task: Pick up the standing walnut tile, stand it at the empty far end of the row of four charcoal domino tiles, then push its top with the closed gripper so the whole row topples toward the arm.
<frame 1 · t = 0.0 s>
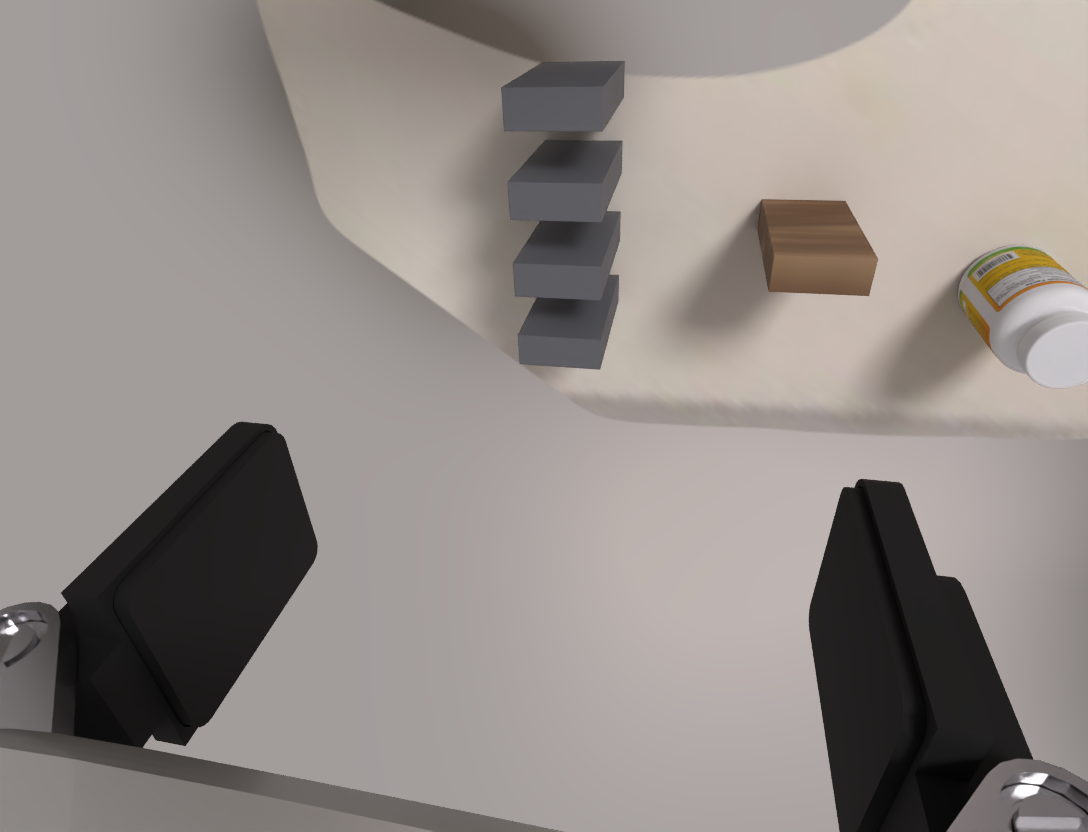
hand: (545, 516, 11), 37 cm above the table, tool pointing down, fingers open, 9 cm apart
domino 1: (583, 80, 41), on the table
domino 3: (583, 225, 46), on the table
domino 2: (583, 156, 43), on the table
domino 4: (584, 286, 48), on the table
domino 5: (800, 216, 43), on the table
supplement bottle: (1002, 282, 43), on the table
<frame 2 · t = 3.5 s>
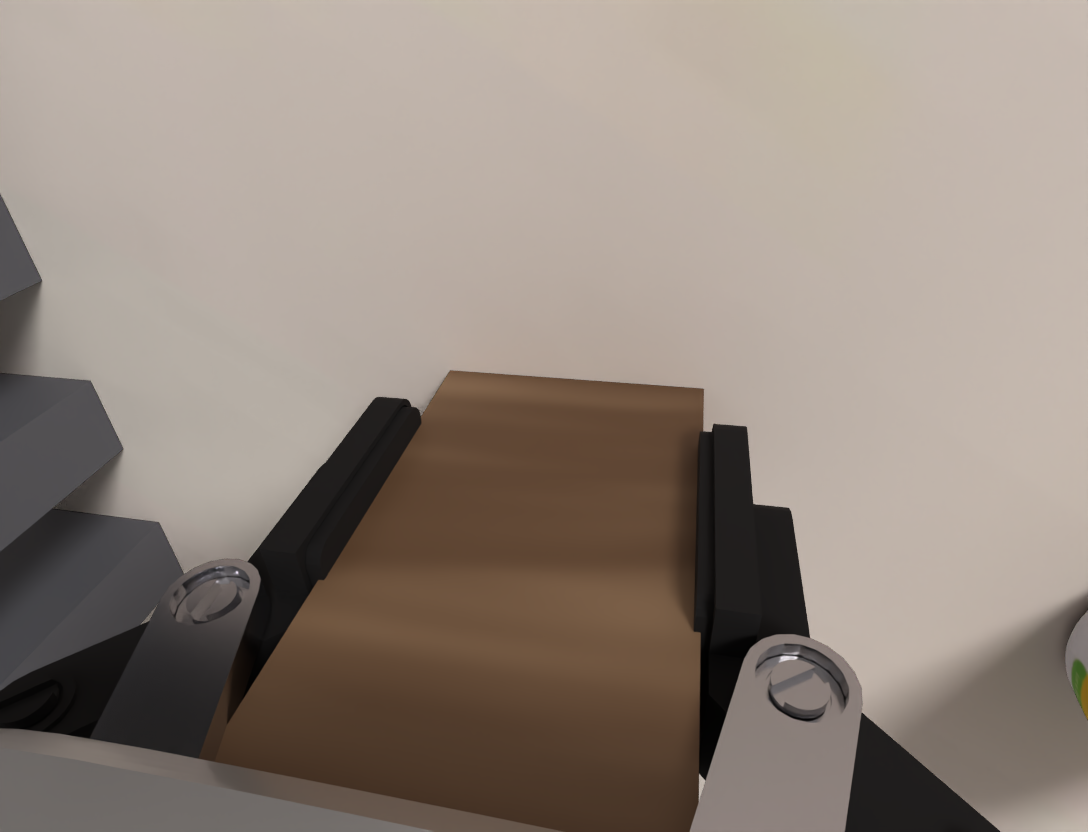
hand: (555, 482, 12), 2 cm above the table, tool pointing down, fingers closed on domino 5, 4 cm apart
domino 3: (21, 407, 17), on the table
domino 4: (95, 538, 19), on the table
domino 5: (573, 421, 14), on the table, touching gripper
when the fingers open (2 cm above the table, at t = 8.4 s): domino 5 stays where it is, on the table.
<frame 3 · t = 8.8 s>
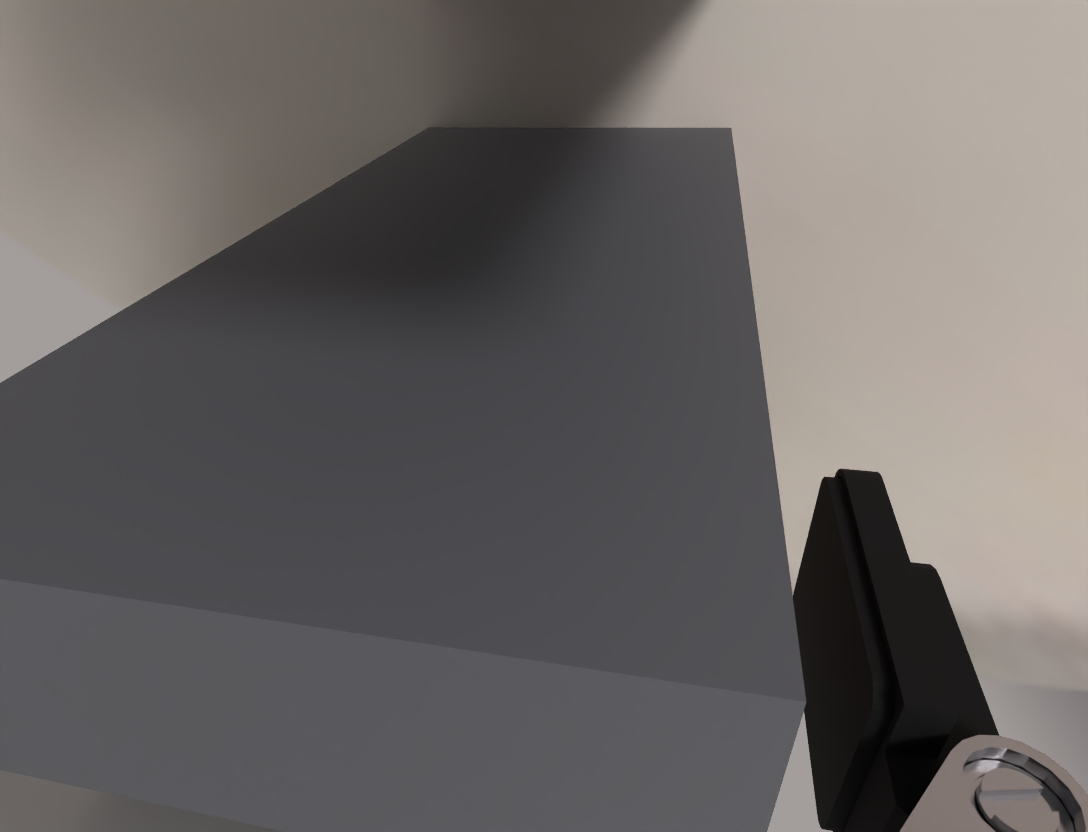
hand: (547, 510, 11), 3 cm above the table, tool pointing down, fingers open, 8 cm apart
domino 4: (574, 190, 11), on the table
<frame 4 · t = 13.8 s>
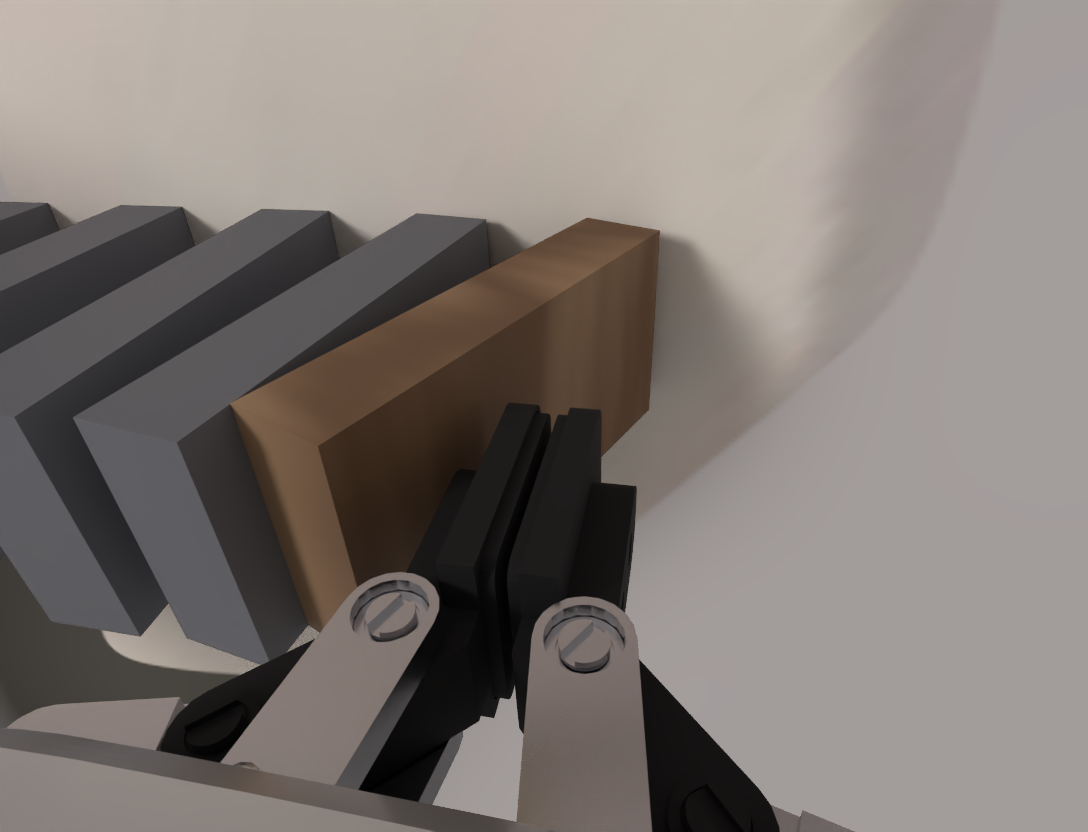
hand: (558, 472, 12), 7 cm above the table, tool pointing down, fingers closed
domino 1: (56, 281, 21), on the table
domino 3: (315, 295, 20), on the table
domino 2: (180, 288, 20), on the table
domino 4: (460, 306, 19), on the table, tilted 9°
domino 5: (619, 318, 18), on the table, tilted 23°
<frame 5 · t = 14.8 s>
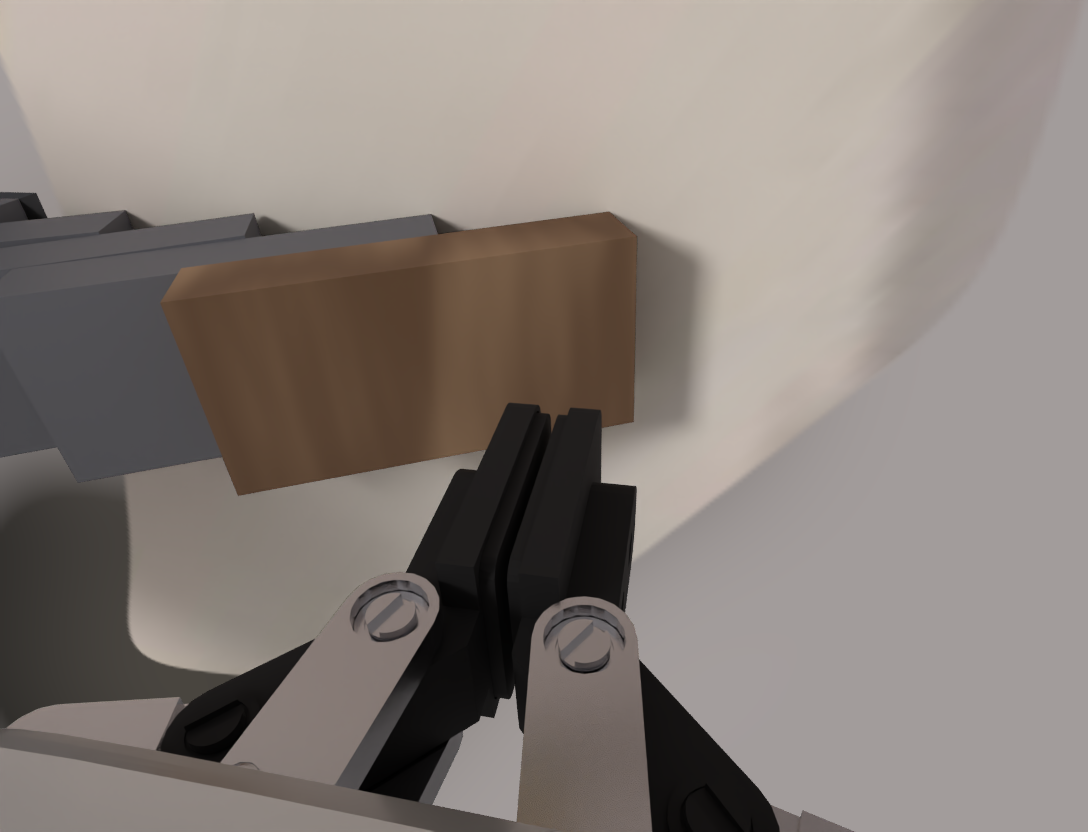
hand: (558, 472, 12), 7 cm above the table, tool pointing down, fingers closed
domino 1: (46, 282, 21), on the table, tilted 90°, touching domino 2
domino 3: (277, 310, 19), point 1 cm above the table, tilted 65°, touching domino 2, domino 4
domino 2: (147, 303, 20), point 1 cm above the table, tilted 69°, touching domino 1, domino 3
domino 4: (448, 316, 18), point 1 cm above the table, tilted 65°, touching domino 3, domino 5
domino 5: (621, 320, 17), point 1 cm above the table, tilted 65°, touching domino 4
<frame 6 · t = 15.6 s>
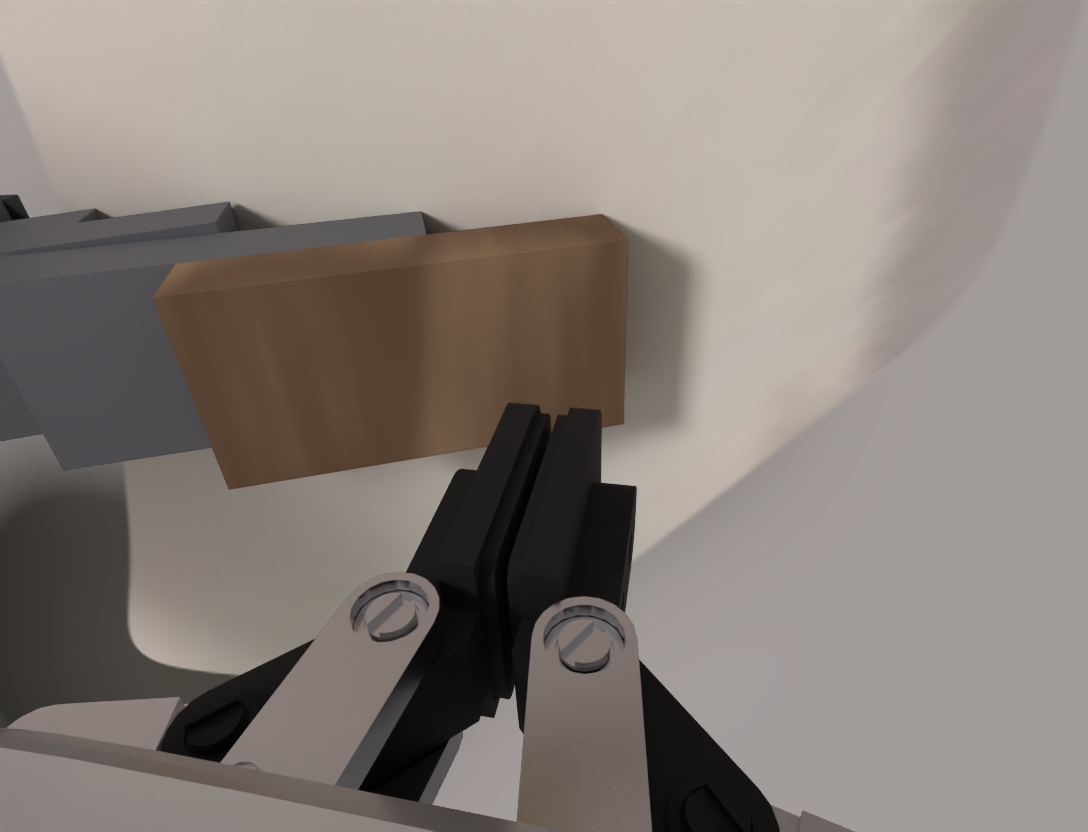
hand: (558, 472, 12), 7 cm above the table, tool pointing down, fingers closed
domino 1: (31, 283, 21), on the table, tilted 90°
domino 3: (253, 299, 19), point 1 cm above the table, tilted 66°, touching domino 2
domino 2: (122, 300, 20), point 1 cm above the table, tilted 66°, touching domino 3
domino 4: (437, 313, 18), point 1 cm above the table, tilted 66°, touching domino 5
domino 5: (613, 322, 17), point 1 cm above the table, tilted 66°, touching domino 4
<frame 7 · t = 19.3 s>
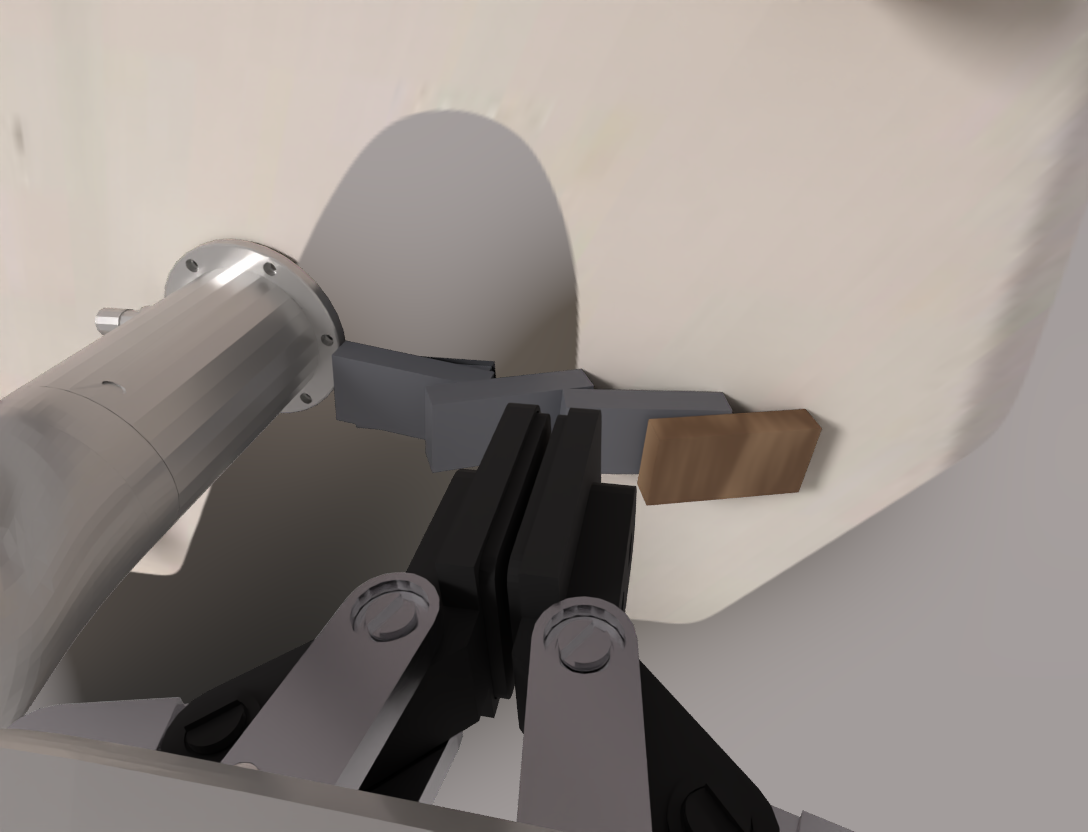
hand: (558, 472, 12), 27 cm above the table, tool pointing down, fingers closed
domino 1: (493, 401, 45), on the table, tilted 90°, touching domino 2
domino 3: (582, 409, 43), point 1 cm above the table, tilted 59°, touching domino 4
domino 2: (487, 412, 43), point 2 cm above the table, tilted 90°, touching domino 1
domino 4: (717, 434, 42), point 1 cm above the table, tilted 74°, touching domino 3
domino 5: (801, 451, 41), point 1 cm above the table, tilted 68°
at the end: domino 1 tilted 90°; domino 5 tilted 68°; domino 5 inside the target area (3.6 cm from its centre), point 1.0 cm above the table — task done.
